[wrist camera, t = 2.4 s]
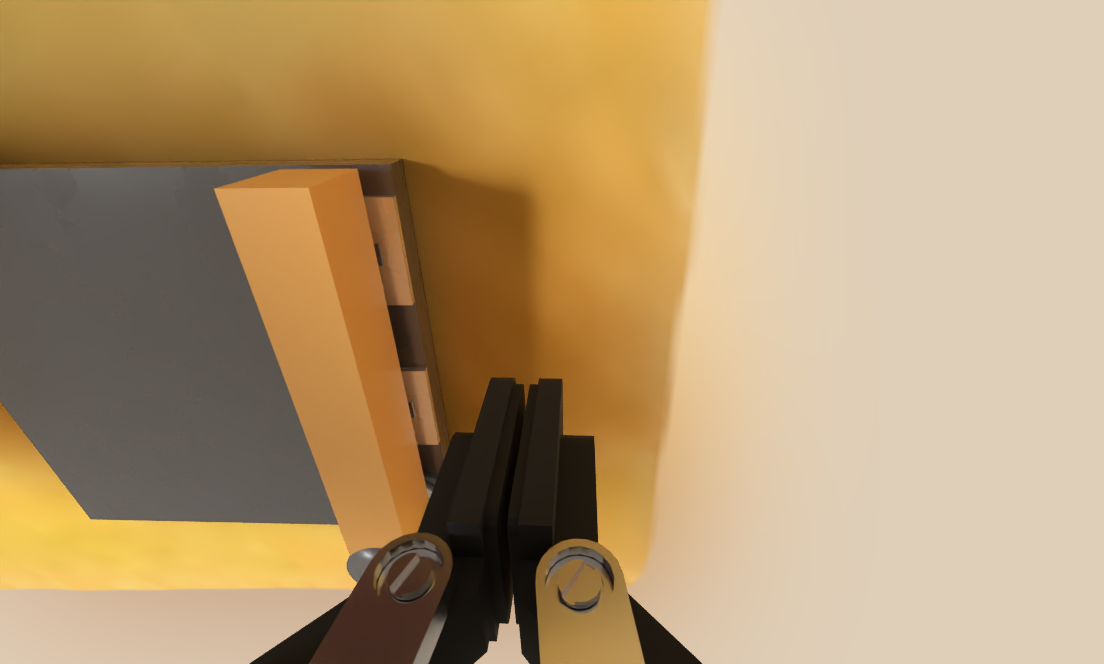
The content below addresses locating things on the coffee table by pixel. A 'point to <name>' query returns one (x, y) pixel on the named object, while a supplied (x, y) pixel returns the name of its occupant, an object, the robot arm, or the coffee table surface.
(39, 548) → the coffee table surface
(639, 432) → the coffee table surface
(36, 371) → the tray
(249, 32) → the coffee table surface
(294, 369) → the bar
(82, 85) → the coffee table surface
